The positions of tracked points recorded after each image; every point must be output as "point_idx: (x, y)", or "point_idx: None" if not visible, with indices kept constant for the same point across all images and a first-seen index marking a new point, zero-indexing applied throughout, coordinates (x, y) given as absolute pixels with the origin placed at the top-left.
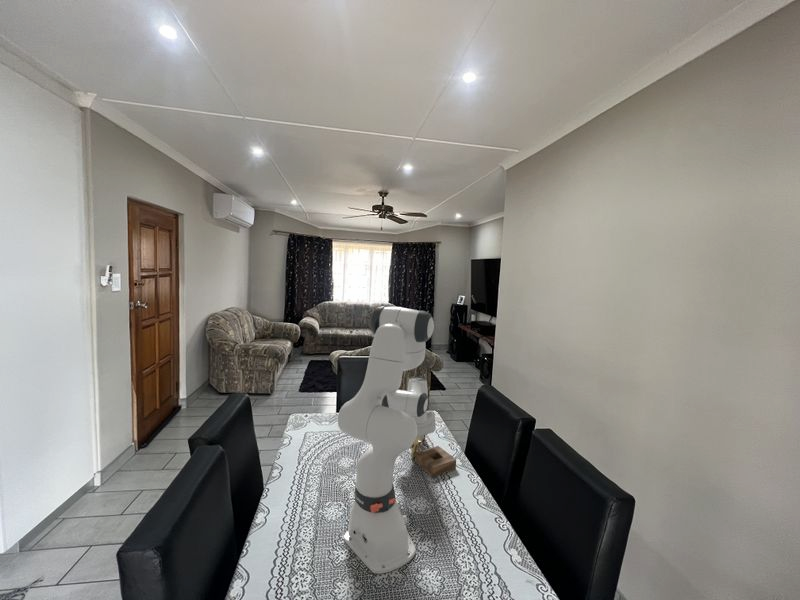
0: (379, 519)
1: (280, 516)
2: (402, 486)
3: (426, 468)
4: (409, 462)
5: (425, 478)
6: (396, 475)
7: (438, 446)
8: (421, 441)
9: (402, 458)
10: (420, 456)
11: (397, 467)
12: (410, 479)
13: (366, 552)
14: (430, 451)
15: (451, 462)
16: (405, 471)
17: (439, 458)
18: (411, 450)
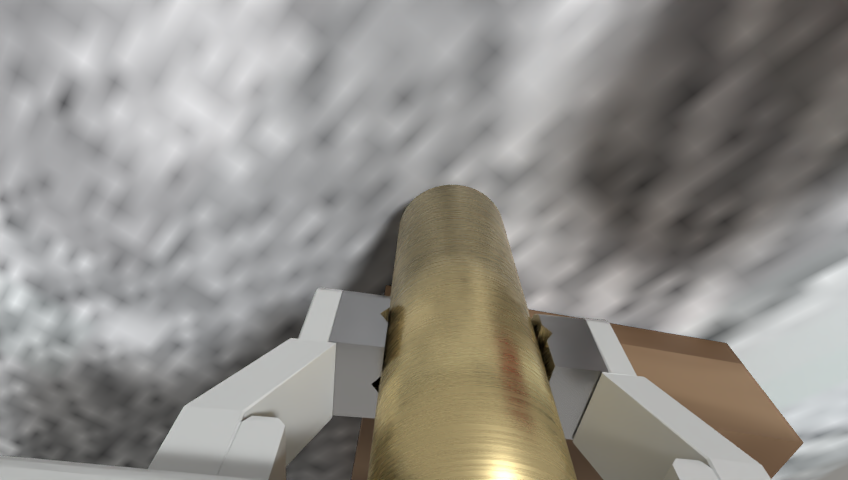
0: None
1: None
2: (43, 439)
3: (352, 471)
4: (318, 251)
5: (287, 477)
6: (46, 323)
7: (783, 455)
8: (597, 443)
9: (293, 125)
10: (362, 458)
11: (119, 233)
12: (156, 424)
13: None
14: (572, 463)
15: None
16: (174, 332)
17: None
18: (398, 257)
